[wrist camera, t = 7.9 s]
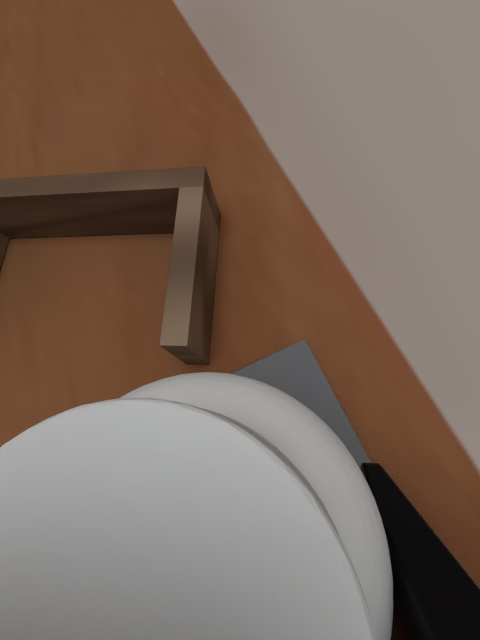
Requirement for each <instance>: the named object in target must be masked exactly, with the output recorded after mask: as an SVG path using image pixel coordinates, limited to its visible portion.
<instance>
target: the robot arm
mask: <svg viewBox="0 0 480 640" xmlns="http://www.w3.org/2000/svg"><path fill="white" fill-rule="evenodd" d="M360 470H361V472H362V474H363V476H364V477H365V479H366V481H367V483H368V485H369V488H370V490H371V492H372V494H373V496H374V499H375V501H376V504H377V507H378V510H379V513H380V516H381V519H382V523H383V526H384V530H385V534H386V539H387V543H388V548H389V555H390V562H391V569H392V577H393V620H392V633H391V639H390V640H480V589H479V588H478V586H477V585H476V584H475V583H474V581H473V580H472V579H471V578H470V576H469V575H468V574H467V573H466V571H465V570H464V569H463V568H462V566H461V565H460V564H459V563H458V561H457V560H456V559H455V558H454V556H453V555H452V554H451V553H450V551H449V550H448V549H447V548H446V546H445V545H444V544H443V543H442V541H441V540H440V539H439V538H438V536H437V535H436V534H435V533H434V531H433V530H432V529H431V528H430V526H429V525H428V524H427V522H426V521H425V520H424V519H423V517H422V516H421V515H420V514H419V512H418V511H417V510H416V509H415V507H414V506H413V505H412V504H411V502H410V501H409V500H408V499H407V497H406V496H405V495H404V494H403V492H402V491H401V490H400V489H399V487H398V486H397V485H396V484H395V482H394V481H393V480H392V479H391V477H390V476H389V475H388V474H387V472H386V471H385V470H384V469H383V467H382V466H381V465H379V464H377V463H362V464H361V466H360Z"/></svg>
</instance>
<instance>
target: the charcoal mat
mask: <svg viewBox="0 0 480 640" xmlns="http://www.w3.org/2000/svg"><path fill="white" fill-rule="evenodd" d="M232 374H234V375H238V376H243V377H247V378H251V379H254V380H257V381H260V382H263V383H266V384H268V385H270V386H273V387H275V388H277V389H279V390H281V391H283V392H285V393H286V394H288V395H290V396H292V397H293V398H295V399H296V400H298V401H299V402H301V403H302V404H303V405H305V406H306V407H307V408H309V409H310V410H312V411H313V412H314V413H315V414H316V415H317V416H318V417H320V418H321V419H322V420H323V421H324V422H325V423H326V424H327V425H328V426H329V427H330V428H331V429H332V431H333V432H334V433H335V434H336V435H337V436H338V437H339V439H340V440H341V441H342V442H343V443H344V445H345V446H346V448H347V449H348V451H349V452H350V454H351V455H352V457H353V458H354V460H355V461H356V463H357V465H358V466H359V468H360V466H361V464H362V463H371V461H370V459H369V458H368V456H367V454H366V452H365V450H364V448H363V446H362V445H361V443H360V441H359V439H358V437H357V435H356V433H355V432H354V430H353V428H352V426H351V424H350V422H349V420H348V418H347V417H346V415H345V413H344V411H343V409H342V407H341V405H340V404H339V402H338V400H337V398H336V396H335V394H334V392H333V391H332V389H331V387H330V385H329V383H328V381H327V379H326V378H325V376H324V374H323V372H322V370H321V368H320V366H319V364H318V363H317V361H316V359H315V357H314V355H313V353H312V351H311V350H310V348H309V346H308V344H307V342H306V340H305V339H304V340H302V341H300V342H298V343H296V344H294V345H291V346H289V347H287V348H285V349H283V350H281V351H279V352H277V353H274V354H272V355H270V356H268V357H266V358H264V359H262V360H260V361H258V362H255V363H253V364H251V365H249V366H247V367H245V368H243V369H241V370H238V371H236V372H234V373H232Z"/></svg>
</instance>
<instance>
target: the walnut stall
mask: <svg viewBox="0 0 480 640" xmlns="http://www.w3.org/2000/svg"><path fill="white" fill-rule="evenodd" d="M220 216H221V214H220V210H219V207H218V204H217V201H216V198H215V195H214V192H213V189H212V186H211V183H210V180H209V176H208V173H207V170H206V167H205V166H202V167H186V168H170V169H154V170H137V171H121V172H105V173H89V174H73V175H57V176H41V177H24V178H8V179H0V269H1V266H2V262H3V259H4V255H5V252H6V248H7V245H8V242H9V238H36V237H66V236H96V235H126V234H156V233H174V235H173V243H172V251H171V259H170V267H169V275H168V283H167V291H166V299H165V307H164V315H163V322H162V330H161V338H160V346H161V347H163V348H164V349H166V350H167V351H168V352H170V353H171V354H173V355H174V356H176V357H177V358H178V359H180V360H181V361H183V362H184V363H186V364H206V365H209V353H210V341H211V328H212V316H213V303H214V291H215V279H216V266H217V254H218V241H219V229H220Z"/></svg>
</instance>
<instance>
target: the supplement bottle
mask: <svg viewBox="0 0 480 640" xmlns="http://www.w3.org/2000/svg"><path fill="white" fill-rule="evenodd" d="M392 620H393V577H392V569H391V562H390V555H389V548H388V543H387V539H386V534H385V530H384V526H383V523H382V519H381V516H380V513H379V510H378V507H377V504H376V501H375V499H374V496H373V494H372V492H371V490H370V488H369V485H368V483H367V481H366V479H365V477H364V476H363V474H362V472H361V470H360V468H359V466H358V465H357V463H356V461H355V460H354V458H353V457H352V455H351V454H350V452H349V451H348V449H347V448H346V446H345V445H344V443H343V442H342V441H341V440H340V439H339V437H338V436H337V435H336V434H335V433H334V432H333V431H332V429H331V428H330V427H329V426H328V425H327V424H326V423H325V422H324V421H323V420H322V419H321V418H320V417H318V416H317V415H316V414H315V413H314V412H313V411H312V410H310V409H309V408H307V407H306V406H305V405H303V404H302V403H301V402H299V401H298V400H296V399H295V398H293V397H292V396H290V395H288V394H286V393H285V392H283V391H281V390H279V389H277V388H275V387H273V386H270V385H268V384H266V383H263V382H260V381H257V380H254V379H251V378H247V377H243V376H238V375H234V374H227V373H215V372H202V373H189V374H181V375H177V376H173V377H169V378H164V379H161V380H158V381H155V382H153V383H150V384H147V385H144V386H142V387H140V388H138V389H135V390H133V391H131V392H129V393H127V394H126V395H124V396H122V397H121V398H119V399H112V400H106V401H101V402H96V403H91V404H85V405H81V406H78V407H75V408H73V409H70V410H67V411H64V412H62V413H60V414H57V415H55V416H53V417H50V418H48V419H46V420H44V421H42V422H40V423H39V424H37V425H35V426H33V427H31V428H29V429H27V430H26V431H24V432H23V433H21V434H19V435H18V436H16V437H15V438H13V439H12V440H10V441H9V442H7V443H5V444H4V445H3V446H1V447H0V640H390V639H391V633H392Z"/></svg>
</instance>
